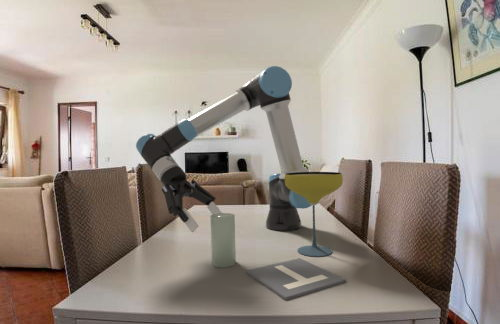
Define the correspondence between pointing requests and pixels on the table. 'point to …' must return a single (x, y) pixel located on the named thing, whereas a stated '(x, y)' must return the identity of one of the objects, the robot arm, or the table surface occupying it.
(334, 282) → the letter board
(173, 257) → the table surface
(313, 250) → the cocktail glass
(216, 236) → the green canister
